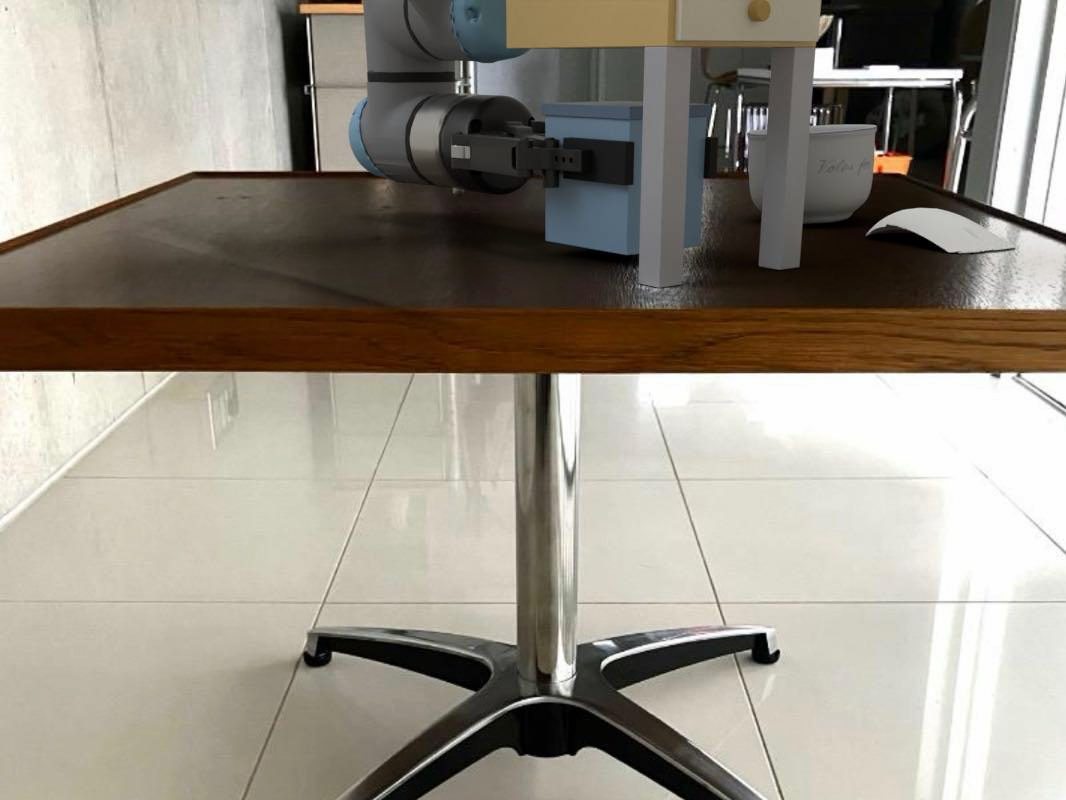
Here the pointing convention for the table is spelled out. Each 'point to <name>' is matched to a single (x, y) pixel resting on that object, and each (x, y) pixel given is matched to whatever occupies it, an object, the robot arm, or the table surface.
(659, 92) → the drawer chest
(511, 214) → the table surface
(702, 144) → the storage box
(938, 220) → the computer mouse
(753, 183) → the teacup
